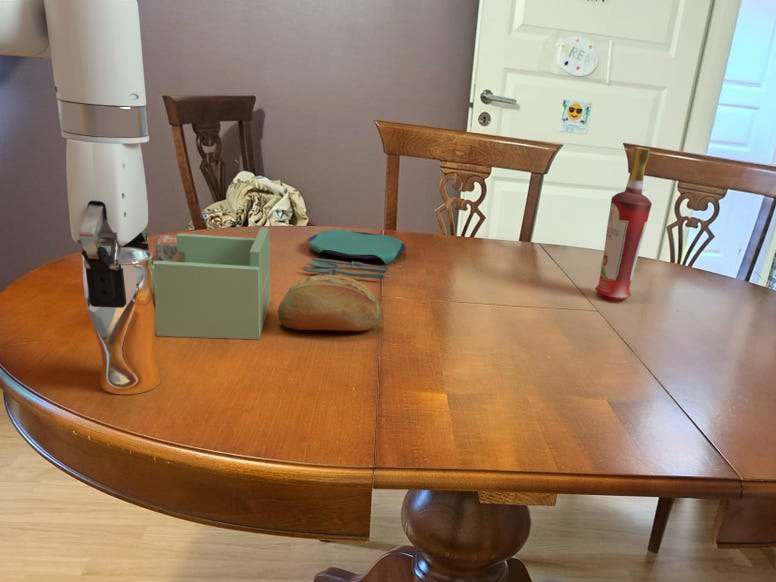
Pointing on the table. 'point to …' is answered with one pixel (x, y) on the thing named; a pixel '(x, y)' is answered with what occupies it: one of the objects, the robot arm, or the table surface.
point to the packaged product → (166, 248)
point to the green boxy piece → (214, 287)
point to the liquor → (624, 233)
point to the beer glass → (128, 327)
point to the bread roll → (330, 305)
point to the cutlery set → (353, 251)
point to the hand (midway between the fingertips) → (122, 290)
